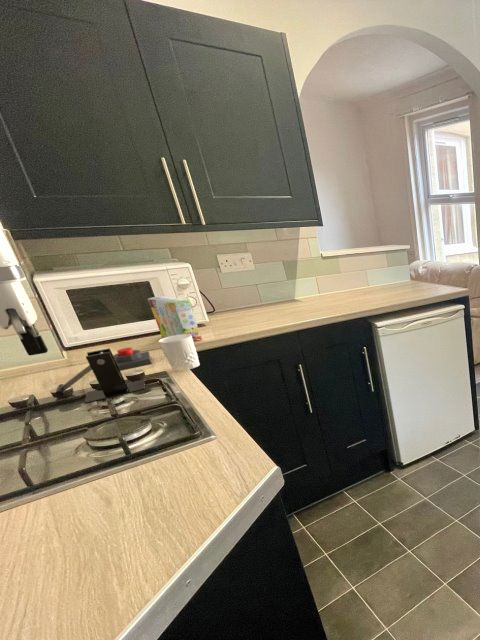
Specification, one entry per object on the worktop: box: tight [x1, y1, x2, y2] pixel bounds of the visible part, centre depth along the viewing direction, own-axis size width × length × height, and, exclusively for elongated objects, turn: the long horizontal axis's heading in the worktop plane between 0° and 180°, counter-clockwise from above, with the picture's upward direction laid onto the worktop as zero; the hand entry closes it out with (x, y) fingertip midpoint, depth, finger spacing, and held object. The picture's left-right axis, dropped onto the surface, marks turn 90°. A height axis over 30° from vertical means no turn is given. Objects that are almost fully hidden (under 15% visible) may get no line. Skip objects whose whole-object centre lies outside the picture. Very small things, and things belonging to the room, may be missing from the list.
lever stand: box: [84, 347, 147, 405], centre depth 109 cm, size 12×9×12 cm
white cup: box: [157, 334, 201, 372], centre depth 124 cm, size 8×8×10 cm
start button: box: [117, 347, 134, 356], centre depth 130 cm, size 4×4×2 cm
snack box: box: [147, 295, 203, 343], centre depth 155 cm, size 21×6×15 cm, turn 59°
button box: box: [113, 349, 153, 372], centre depth 131 cm, size 10×10×4 cm
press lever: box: [54, 351, 103, 397], centre depth 106 cm, size 13×6×2 cm
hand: (38, 353), depth 100 cm, fingers closed
